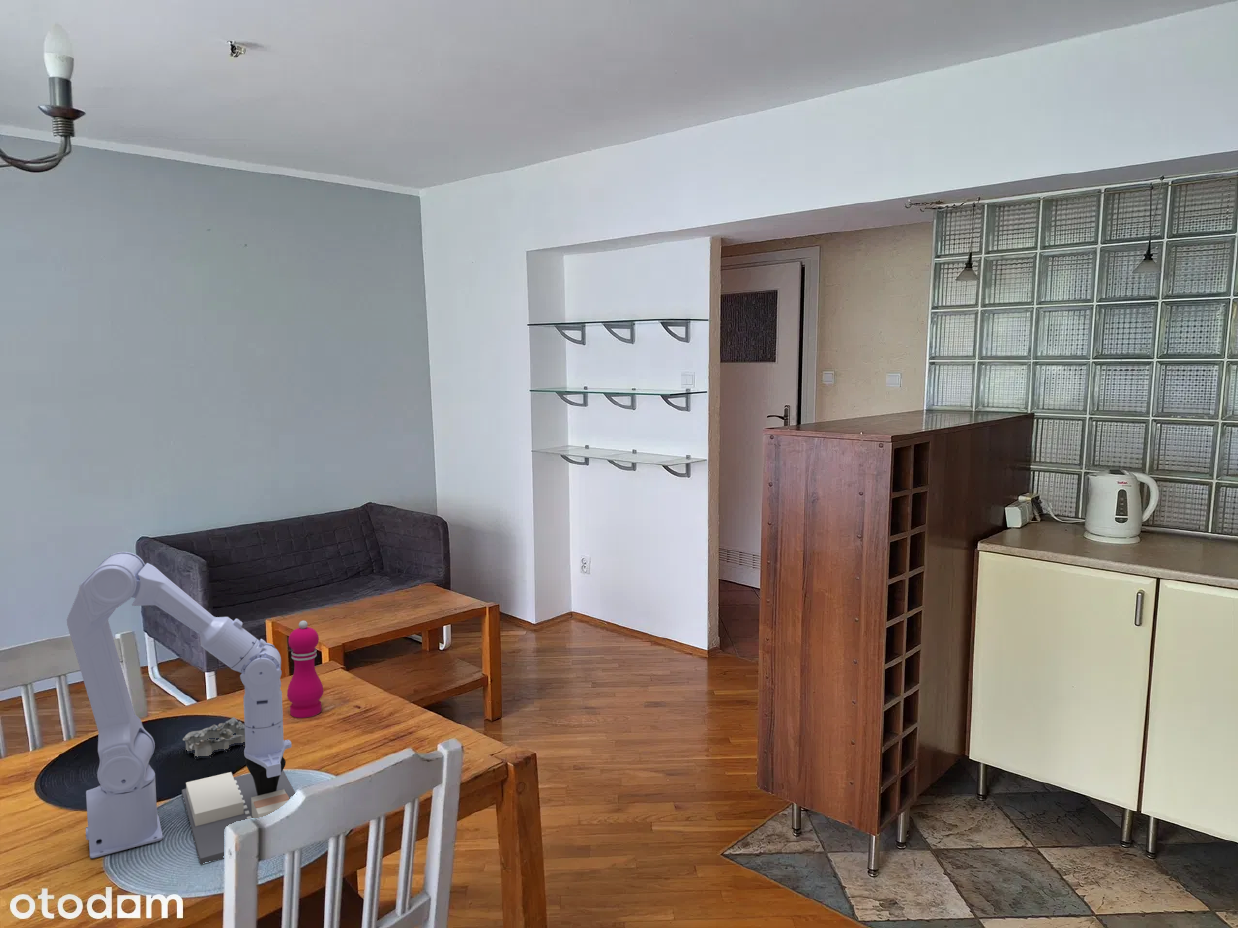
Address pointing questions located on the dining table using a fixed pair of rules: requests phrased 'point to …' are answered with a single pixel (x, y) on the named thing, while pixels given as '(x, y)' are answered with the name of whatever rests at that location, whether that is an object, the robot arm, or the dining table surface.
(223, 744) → the egg carton
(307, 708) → the pepper mill
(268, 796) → the stub
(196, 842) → the mat
